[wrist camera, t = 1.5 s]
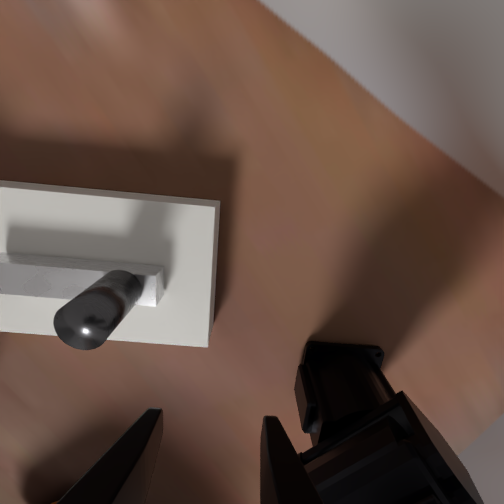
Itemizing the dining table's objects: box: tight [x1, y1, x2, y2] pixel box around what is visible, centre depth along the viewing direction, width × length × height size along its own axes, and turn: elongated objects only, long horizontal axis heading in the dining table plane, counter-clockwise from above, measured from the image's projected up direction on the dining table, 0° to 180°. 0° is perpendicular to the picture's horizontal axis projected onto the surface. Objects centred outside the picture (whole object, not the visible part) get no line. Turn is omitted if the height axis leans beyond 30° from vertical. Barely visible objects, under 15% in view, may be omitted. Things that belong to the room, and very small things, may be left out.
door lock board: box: [0, 180, 220, 347], centre depth 17 cm, size 24×10×6 cm, turn 85°
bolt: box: [0, 252, 164, 350], centre depth 15 cm, size 10×2×6 cm, turn 85°
